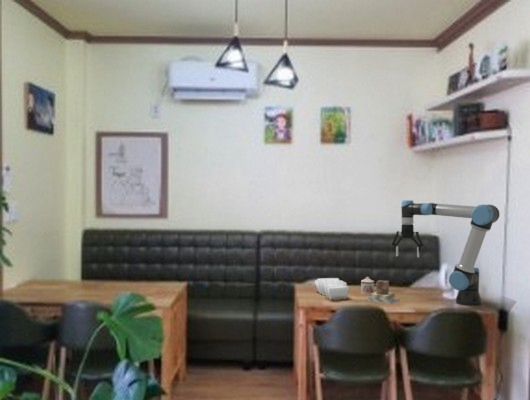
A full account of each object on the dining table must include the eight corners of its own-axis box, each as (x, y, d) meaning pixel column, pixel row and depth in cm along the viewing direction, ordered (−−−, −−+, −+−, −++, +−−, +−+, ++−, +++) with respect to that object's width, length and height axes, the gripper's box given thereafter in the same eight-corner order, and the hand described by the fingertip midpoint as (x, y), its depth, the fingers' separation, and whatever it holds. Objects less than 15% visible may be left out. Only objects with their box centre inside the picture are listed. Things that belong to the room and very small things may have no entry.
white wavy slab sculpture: (351, 301, 347) (351, 284, 347) (326, 302, 345) (326, 285, 344) (336, 291, 382) (336, 275, 382) (312, 291, 379) (313, 276, 379)
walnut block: (388, 293, 352) (388, 280, 352) (385, 294, 347) (385, 282, 347) (379, 292, 355) (379, 280, 355) (376, 293, 350) (376, 281, 350)
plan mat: (399, 300, 353) (400, 299, 353) (392, 304, 340) (392, 303, 340) (373, 296, 363) (373, 296, 362) (364, 301, 349) (364, 300, 349)
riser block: (394, 299, 353) (394, 293, 353) (388, 302, 343) (388, 296, 343) (376, 297, 359) (376, 291, 359) (370, 300, 349) (370, 294, 349)
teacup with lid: (361, 295, 367) (361, 278, 366) (359, 292, 376) (359, 275, 376) (379, 295, 366) (379, 278, 366) (377, 293, 375) (377, 276, 375)
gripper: (428, 224, 356) (428, 256, 356) (390, 223, 368) (390, 255, 368) (425, 224, 350) (426, 258, 350) (387, 223, 361) (387, 256, 361)
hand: (407, 256), depth 359 cm, fingers open, 13 cm apart
